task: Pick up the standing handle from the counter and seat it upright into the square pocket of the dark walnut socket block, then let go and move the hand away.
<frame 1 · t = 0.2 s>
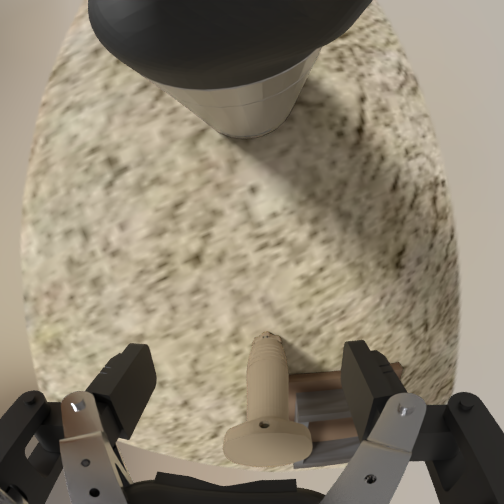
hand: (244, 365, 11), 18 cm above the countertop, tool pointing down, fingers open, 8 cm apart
socket block: (333, 412, 35), on the countertop
handle: (267, 341, 32), on the countertop
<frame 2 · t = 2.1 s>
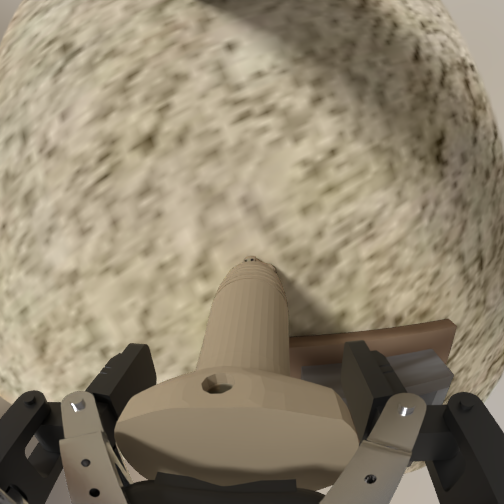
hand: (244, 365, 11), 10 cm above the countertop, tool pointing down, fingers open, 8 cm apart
socket block: (356, 401, 23), on the countertop
handle: (253, 276, 21), on the countertop
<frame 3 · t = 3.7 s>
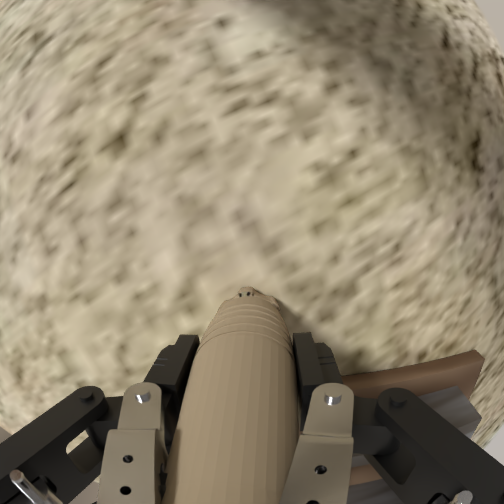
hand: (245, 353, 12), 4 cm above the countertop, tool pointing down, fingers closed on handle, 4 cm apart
socket block: (368, 442, 18), on the countertop
handle: (250, 310, 16), on the countertop, touching gripper
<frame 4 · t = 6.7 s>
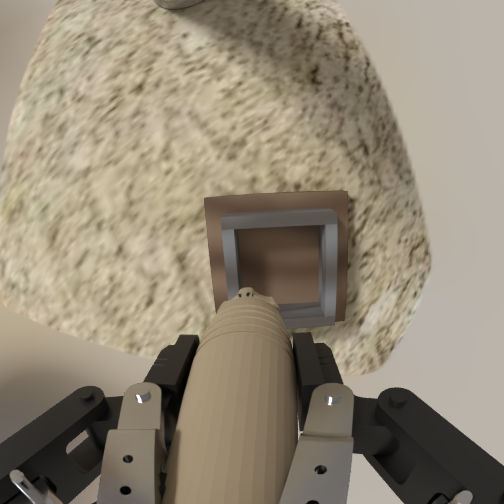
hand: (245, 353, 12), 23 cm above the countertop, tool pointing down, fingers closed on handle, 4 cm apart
socket block: (279, 260, 35), on the countertop
handle: (250, 310, 16), point 19 cm above the countertop, touching gripper
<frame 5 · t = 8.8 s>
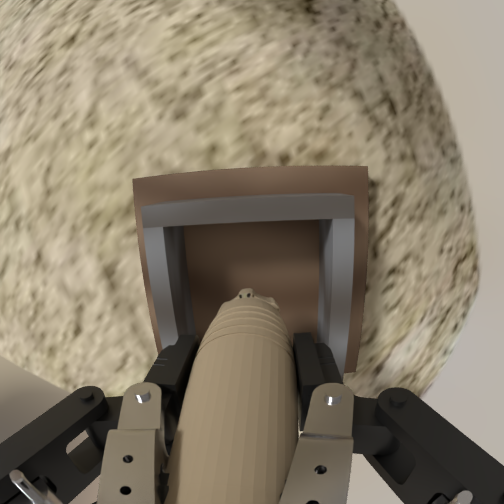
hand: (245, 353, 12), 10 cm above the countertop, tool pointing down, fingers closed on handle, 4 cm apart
socket block: (254, 280, 21), on the countertop
handle: (250, 311, 16), point 5 cm above the countertop, touching gripper
when the fingers open (8 cm above the countertop, at t = 9.9 s): handle drops 2 cm, resting on socket block.
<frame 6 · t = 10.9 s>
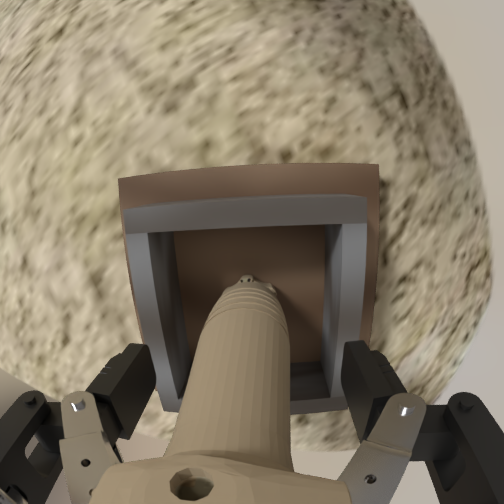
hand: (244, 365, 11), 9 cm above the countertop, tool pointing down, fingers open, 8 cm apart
socket block: (252, 289, 19), on the countertop
handle: (250, 296, 18), point 1 cm above the countertop, touching socket block
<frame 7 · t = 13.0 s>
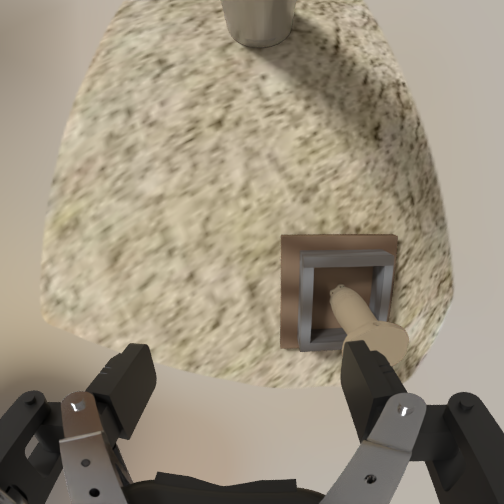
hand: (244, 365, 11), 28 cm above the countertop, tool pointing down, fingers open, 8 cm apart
socket block: (337, 291, 39), on the countertop
handle: (339, 294, 38), point 1 cm above the countertop, touching socket block
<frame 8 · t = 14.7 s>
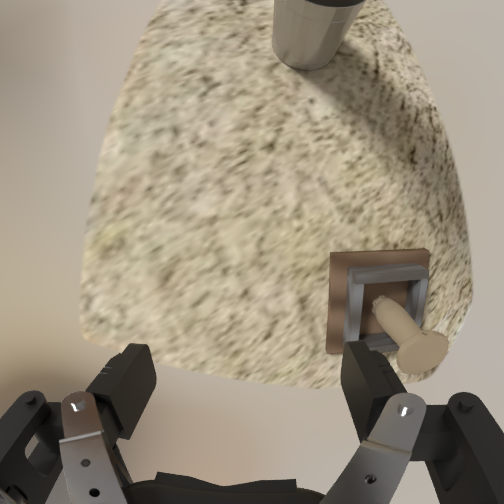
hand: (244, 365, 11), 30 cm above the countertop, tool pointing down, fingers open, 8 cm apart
socket block: (377, 300, 42), on the countertop
handle: (379, 303, 41), point 1 cm above the countertop, touching socket block
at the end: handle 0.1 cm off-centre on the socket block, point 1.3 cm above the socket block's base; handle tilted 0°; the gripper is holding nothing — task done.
